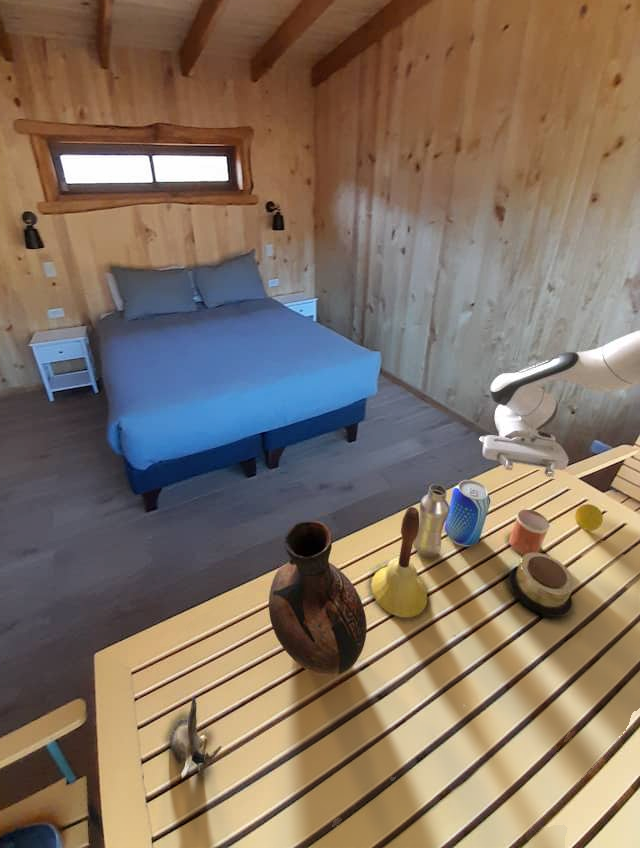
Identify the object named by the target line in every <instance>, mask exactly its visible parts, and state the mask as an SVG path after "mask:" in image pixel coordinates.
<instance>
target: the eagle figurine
mask: <svg viewBox="0 0 640 848" xmlns="http://www.w3.org/2000/svg"><path fill="white" fill-rule="evenodd" d="M196 700H197V699H196V695H193V696H192V698H191V705H190V709H189V712H188V713H189V714H188V718H186V717H185V718H180V720H178V721H177V723H176V725H174V726H173V727H174V728H173V730H172V731H171V735H170V738H169V747H170V749H171V751H172V755H173V758H174V760H175V761H176V763H178V764H182V763H183V762H185V764H184V767H183V770H182V772H181V775H180V776H181V779H184V777H186V776H187V774H188V773H189V770H190V768H191V766H192V762H193V763H194V764H195V765H196V766H197V773H196V776H197V777H200V774H201V775H205V770H206V768H207V767H208V766H209V764H210V763H211V762H212V760H213V759H214V758H215V757H216V756H217V755H218V753H219V752H220V751H221V749H222V745H219V746H218V747H217V748H215V749H214V750H213V752H212V753H209V752H206V753H205V752H203V751H202V747H204V746H203V745H204V743H205V741H206V740H208V737H207V736H205V734H203V735H201V736H199V732H198V729H197V725H198V724H197V723H198V721H197V706H198V705H197V702H196Z"/></svg>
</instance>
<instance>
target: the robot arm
mask: <svg viewBox="0 0 640 848" xmlns="http://www.w3.org/2000/svg"><path fill="white" fill-rule="evenodd" d="M549 381H563V382H567V383H572V384H575V385H578V386H581V387H585V388H587V389H590V390H592V391H597V392H602V393H612V392H617V391H622V390H625V389H627V388H630V387H632V386H634V385H637V384H639V383H640V329H639V330H635V331H634V332H631V333H627V334H625V335H623V336H620V337H618V338H616V339H614V340H611V341H610V342H608V343H606V344H604V345H601V346H600V347H596V348H593V349H589V350H583V351H577V352H576V351H575V352H574V351H566V352H562V353H559V354H556V355H553V356H550V357H548V358H544V359H543V360H540V361H537V362H534V363H532V364H530V365H527V366H525V367H522V368H519V369H516V370H512V371H508V372H507V371H506V372H504V373H501V374H500V375H498V376H496V377H495V379H494V380H493V381H492V382H491V384H490V387H489V389H490V396H491V399H492V401H493V402H495V403H496V404H498V405H497V407H496V408H495V411H494V423H495V427H496V430H497V432H498V435H493V434H484V435H481V436H480V437H479V442H480V443H481V444H482V456H483V457H484V458H485V459H487V460H492V461H498V463H500V464H501V465H502V466H504V469H505V470H506V471H513V468H514V464H519V465H525V466H532V467H537V468H544V469H545V470H544V474H545V476H546V477H551V478H554V476H555V470H558V471H565V470H566V468H567V467H568V465H569V460H570V459H569V457H568V454H567V453H566V451H565V449H564V448H563V446H562V445H560V444H559V443H558V442H556V436H555V435H553V434H551V433H548V432H544V431H541V430H539V429H542V428H544V427H546V426H547V425H549V424H551V423H552V422H553V420H554V419H555V418H556V417H557V413H558V408H559V406H558V400H557V398H556V397H554V396H553V395H551V394H550V393H548V392H546V391H545V390H543V389H542V388H540V387H538V386H537V385H540V384H543V383H546V382H549Z"/></svg>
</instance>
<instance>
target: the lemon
mask: <svg viewBox="0 0 640 848" xmlns="http://www.w3.org/2000/svg"><path fill="white" fill-rule="evenodd" d="M603 519H604V517H603V513H602V511H601V510H600V508H598V506H595V505H594V504H589V503H585V504H582V505H580V506H579V507H578V508H577V509H576V511H575V514H574V520H575V523H576V524H577V526H578V527H579V528H581V529H582V530H585V531H589V532H592V531H596V530H598V529H599V528H600V527H601V525H602V524H603Z"/></svg>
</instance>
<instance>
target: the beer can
mask: <svg viewBox="0 0 640 848" xmlns="http://www.w3.org/2000/svg"><path fill="white" fill-rule="evenodd" d="M490 505H491V498H490V495H489V491H488V489H487V487H485V485H483V484H482V483H480V482H479V481H477V480H472V479H464V480H462V481H460V482H459V483H458V484H457V485H456V486H455V487H454V488H453V489H452V493H451V498H450V502H449V510H450V512H449V515H448V517H447V519H446V521H445V523H444V531H445V534H446V535H447V537H448V538H449V540H450V541H452V542H453V543H454V544H456V545H458V546H461V547H472V546H475V545H476V544H478V543H479V541H480V539H481V535H482V532H483V529H484V526H485V522H486V518H487V516H488V512H489V508H490Z"/></svg>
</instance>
